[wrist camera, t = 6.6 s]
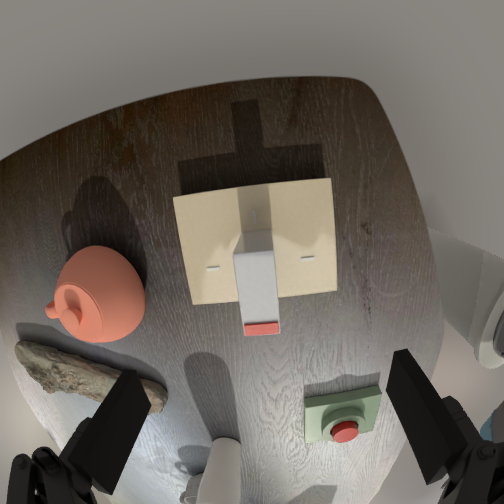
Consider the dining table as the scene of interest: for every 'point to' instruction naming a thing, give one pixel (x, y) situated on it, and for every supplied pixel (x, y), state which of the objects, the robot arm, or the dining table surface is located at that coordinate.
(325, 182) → the base
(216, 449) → the drinking glass
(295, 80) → the dining table surface
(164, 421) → the dining table surface
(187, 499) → the teacup
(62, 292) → the sugar bowl
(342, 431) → the button
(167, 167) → the dining table surface
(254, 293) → the tap handle
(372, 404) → the button box
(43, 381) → the long grey stone
